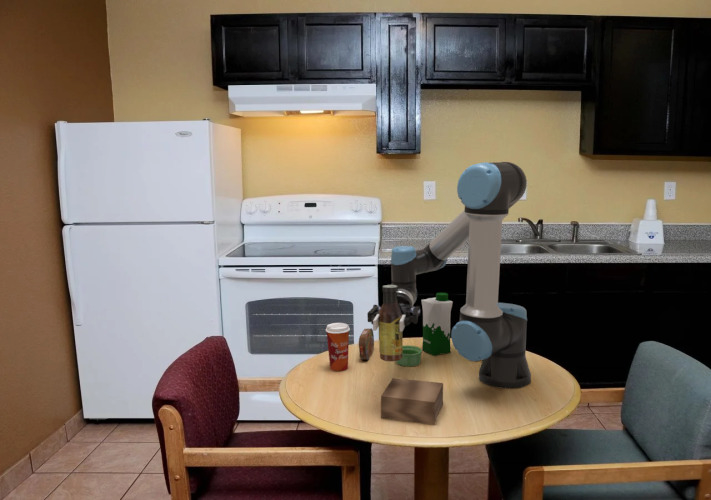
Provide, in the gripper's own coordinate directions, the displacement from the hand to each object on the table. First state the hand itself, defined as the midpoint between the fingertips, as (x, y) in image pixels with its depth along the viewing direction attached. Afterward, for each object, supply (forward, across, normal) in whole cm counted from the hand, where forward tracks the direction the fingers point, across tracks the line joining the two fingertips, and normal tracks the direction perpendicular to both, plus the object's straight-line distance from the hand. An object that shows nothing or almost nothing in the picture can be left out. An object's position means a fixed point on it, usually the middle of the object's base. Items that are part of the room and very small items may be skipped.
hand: (387, 325), depth 154 cm
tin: (-43, +14, -23) cm, 51 cm away
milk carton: (-51, -8, -24) cm, 57 cm away
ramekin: (-39, 0, -24) cm, 45 cm away
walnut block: (-2, -6, -24) cm, 25 cm away
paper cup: (-30, +21, -23) cm, 43 cm away
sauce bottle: (-5, 0, -11) cm, 12 cm away
